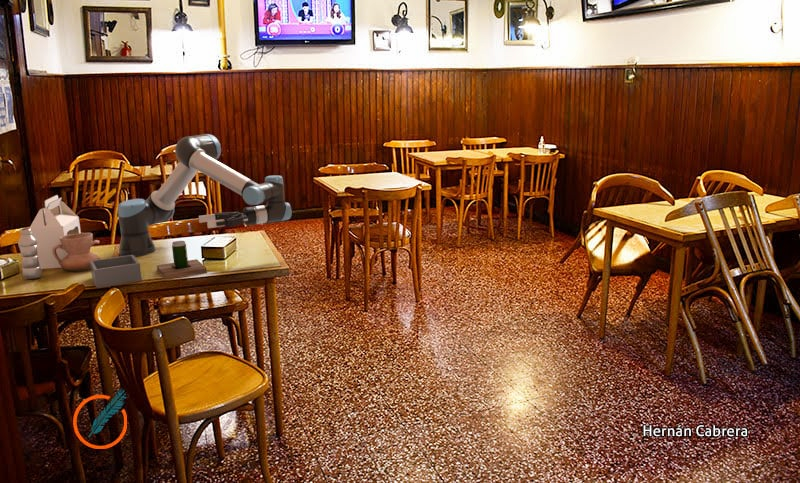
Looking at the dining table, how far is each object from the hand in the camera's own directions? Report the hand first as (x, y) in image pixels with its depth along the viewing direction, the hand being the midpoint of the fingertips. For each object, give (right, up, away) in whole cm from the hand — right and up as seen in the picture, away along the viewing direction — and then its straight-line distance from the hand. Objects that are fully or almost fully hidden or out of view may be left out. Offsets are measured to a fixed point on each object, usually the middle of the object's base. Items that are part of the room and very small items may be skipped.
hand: (203, 222), depth 266 cm
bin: (-31, -23, -9) cm, 39 cm away
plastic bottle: (-65, -23, -5) cm, 69 cm away
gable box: (-67, -17, +20) cm, 72 cm away
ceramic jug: (-53, -19, +7) cm, 57 cm away
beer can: (-8, -20, 0) cm, 22 cm away
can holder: (-8, -20, 0) cm, 22 cm away
